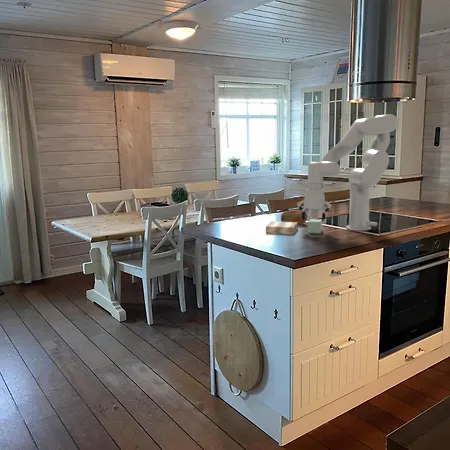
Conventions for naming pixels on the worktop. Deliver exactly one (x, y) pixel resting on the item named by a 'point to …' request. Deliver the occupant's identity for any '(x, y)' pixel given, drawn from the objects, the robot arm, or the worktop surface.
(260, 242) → the worktop surface
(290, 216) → the tin
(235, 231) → the worktop surface
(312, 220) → the sage cube
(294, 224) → the birch block
